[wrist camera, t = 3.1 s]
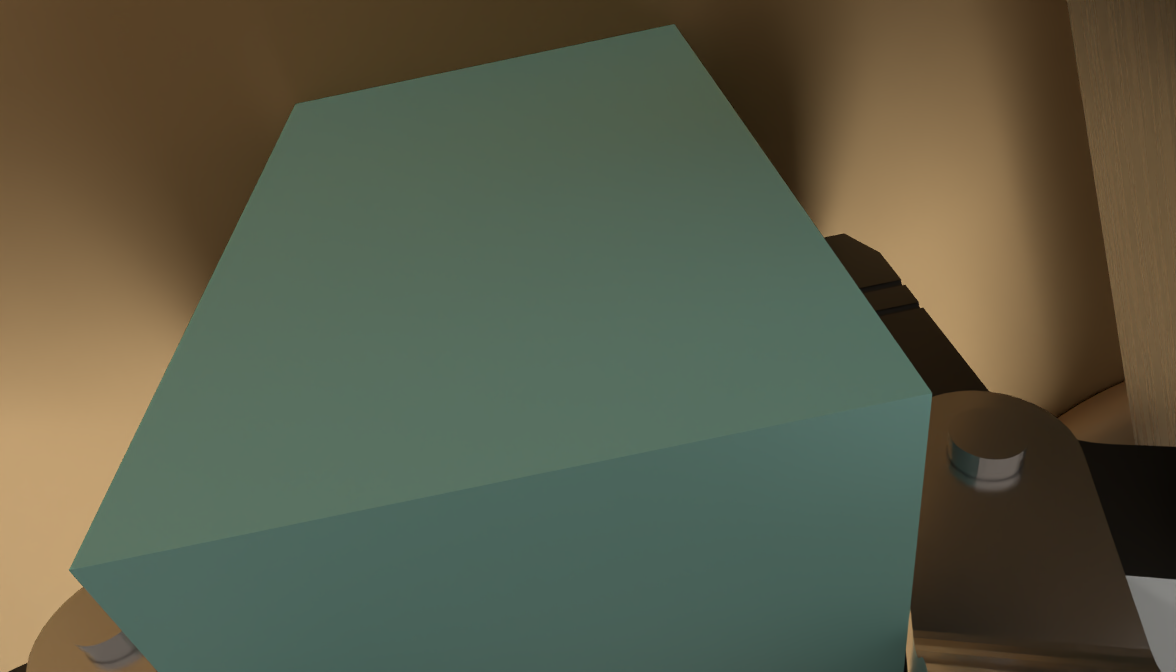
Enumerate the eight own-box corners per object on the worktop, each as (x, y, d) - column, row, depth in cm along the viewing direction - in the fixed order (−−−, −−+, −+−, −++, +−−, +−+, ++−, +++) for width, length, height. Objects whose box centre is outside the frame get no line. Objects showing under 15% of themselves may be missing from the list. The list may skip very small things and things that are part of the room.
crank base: (1392, 319, 12) (1437, 348, 12) (1263, 572, 16) (1292, 603, 15) (754, 449, 12) (768, 483, 12) (770, 671, 16) (781, 706, 15)
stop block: (674, 22, 9) (931, 393, 4) (718, 437, 12) (880, 902, 7) (295, 102, 9) (71, 570, 4) (451, 492, 12) (436, 989, 7)
